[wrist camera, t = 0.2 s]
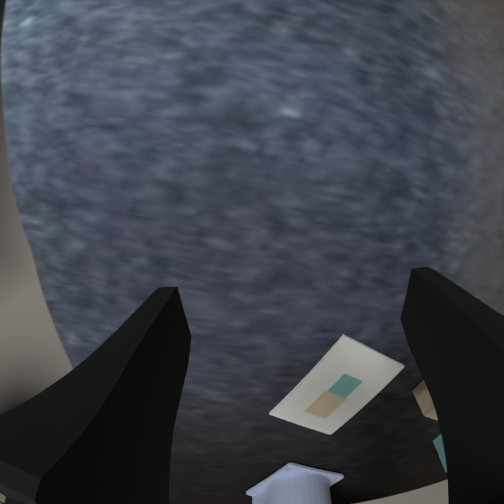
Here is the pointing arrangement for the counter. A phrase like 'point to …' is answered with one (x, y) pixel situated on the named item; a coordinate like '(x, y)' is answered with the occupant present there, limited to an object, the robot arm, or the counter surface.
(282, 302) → the counter surface
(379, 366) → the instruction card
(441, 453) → the teal brick
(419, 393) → the oak base brick
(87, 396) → the robot arm
